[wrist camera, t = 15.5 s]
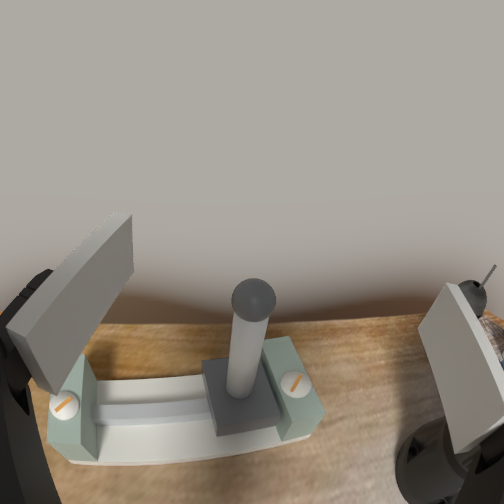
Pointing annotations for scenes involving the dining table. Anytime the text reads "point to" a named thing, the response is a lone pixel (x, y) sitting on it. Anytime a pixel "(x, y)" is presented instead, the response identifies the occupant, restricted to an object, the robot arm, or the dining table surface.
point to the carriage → (243, 366)
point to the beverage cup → (476, 294)
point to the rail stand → (173, 415)
